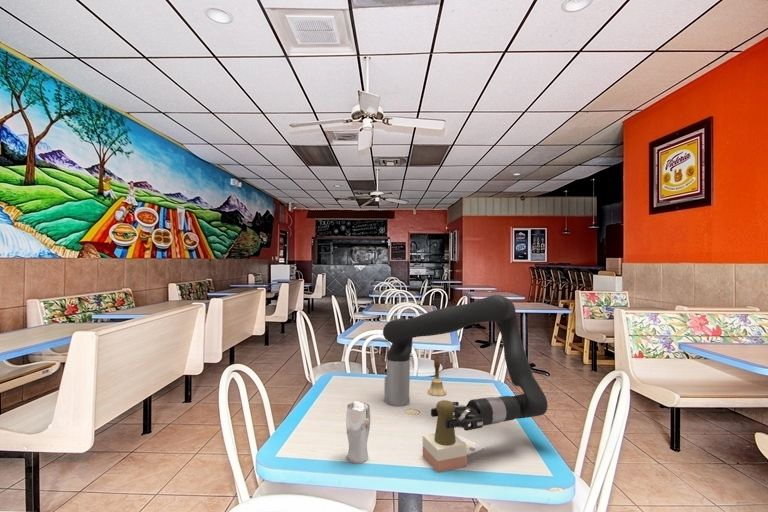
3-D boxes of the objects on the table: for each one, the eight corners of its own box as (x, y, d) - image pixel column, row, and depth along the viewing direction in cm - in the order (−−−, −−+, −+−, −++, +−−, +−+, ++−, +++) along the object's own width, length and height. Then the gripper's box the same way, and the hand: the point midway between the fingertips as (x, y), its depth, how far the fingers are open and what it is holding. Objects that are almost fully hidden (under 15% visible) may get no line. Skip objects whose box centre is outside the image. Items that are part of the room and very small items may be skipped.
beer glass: (373, 454, 114) (374, 403, 114) (364, 466, 107) (365, 412, 107) (351, 450, 116) (352, 400, 116) (341, 461, 109) (342, 408, 109)
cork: (455, 446, 107) (456, 406, 107) (433, 444, 108) (434, 404, 108) (455, 436, 113) (456, 398, 113) (434, 434, 114) (435, 397, 114)
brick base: (422, 456, 113) (422, 435, 113) (449, 451, 116) (449, 431, 116) (437, 472, 105) (437, 450, 105) (466, 466, 108) (466, 444, 108)
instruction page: (444, 442, 122) (444, 441, 122) (459, 436, 126) (459, 435, 126) (468, 455, 114) (468, 454, 114) (483, 449, 118) (483, 447, 118)
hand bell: (423, 391, 169) (423, 354, 169) (438, 388, 172) (439, 352, 173) (434, 397, 161) (435, 359, 161) (450, 394, 165) (451, 357, 165)
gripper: (473, 390, 122) (426, 396, 116) (502, 407, 109) (451, 414, 103) (472, 414, 122) (426, 421, 116) (501, 434, 109) (451, 443, 103)
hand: (438, 418), depth 110 cm, fingers open, 8 cm apart
